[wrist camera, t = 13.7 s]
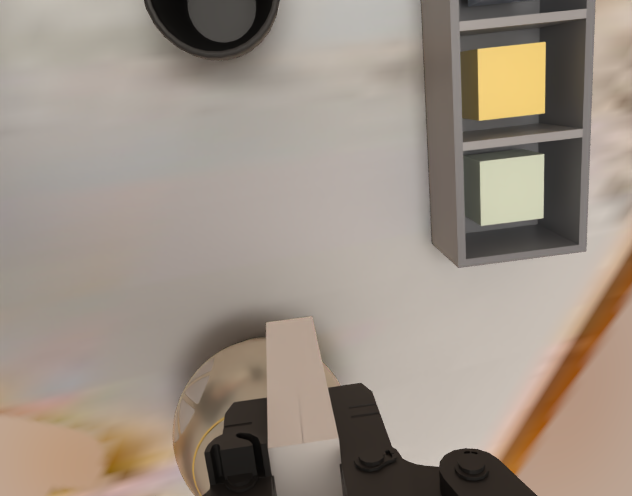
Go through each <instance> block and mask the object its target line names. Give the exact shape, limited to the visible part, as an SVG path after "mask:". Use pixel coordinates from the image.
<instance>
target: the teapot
mask: <svg viewBox="0 0 632 496" xmlns="http://www.w3.org/2000/svg"><path fill="white" fill-rule="evenodd" d="M322 363H323V362H322ZM323 368H324V373H325V377H326V382H327V386H328V388H329V387H336V386H341V385H340V384H339V382H338V380H337V379H336V377H335V376H334V374H333V373H332V372H331V370H330V369H329V368H328V367H327V366H326V365H325V364H324V363H323ZM260 398H267V356H266V337H259V338H253V339H249V340H246V341H243V342H240V343H237V344H234V345H232V346H229V347H227V348H225V349H223V350H221V351H220V352H218V353H216V354H215V355H213V356H212V357H211V358H209V359H208V360H207V361H206V362H205V363H204V364H203V365H202V366H201V367H200V368H199V369H198V370H197V371H196V372H195V373H194V375H193V376H192V377H191V379H190V380H189V382H188V383H187V385H186V387H185V388H184V390H183V392H182V395H181V397H180V399H179V402H178V405H177V408H176V412H175V417H174V424H173V446H174V453H175V457H176V461H177V464H178V467H179V470H180V473H181V475H182V477H183V479H184V481H185V483H186V484H187V486H188V487H189V489H190V490H191V491H192V493H193V494H194V495H195V496H202V495H204V494H205V493H206V492H207V491H208V490H209V489H210V482H209V477H208V472H207V466H206V461H205V455H204V451H205V449H206V447H207V445H208V444H209V443H210V442H211V441H212V440H213V439H214V438H216V437H218V436H220V435H222V434H223V428H224V417H225V413H226V412H227V410H228V409H229V408H230V406H231V405H232V404H233V402H238V401H245V400H252V399H260Z"/></svg>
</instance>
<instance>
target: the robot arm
mask: <svg viewBox="0 0 632 496" xmlns="http://www.w3.org/2000/svg"><path fill="white" fill-rule="evenodd" d="M266 356H267V398H260V399H252V400H245V401H238V402H233V404H232V405H231V406H230V408H229V409H228V410H227V412H226V413H225V417H224V428H223V434H222V435H220V436H218V437H216V438H214V439H213V440H212V441H211V442H210V443H209V444H208V445H207V447H206V449H205V451H204V455H205V461H206V466H207V472H208V477H209V482H210V489H209V490H208V491H207V492H206V493H205V494H204V495H202V496H537V495H536V494H535V493H534V492H533V491H532V490H531V489H530V488H528V487H527V486H526V485H525V484H524V483H523V482H522V481H521V480H520V479H519V478H518V477H517V476H516V475H515V474H514V473H513V472H511V471H510V470H509V469H508V468H507V467H506V466H505V465H504V464H503V463H502V462H501V461H500V460H499V459H497V458H496V457H494V456H493V455H491V454H490V453H488V452H484V451H481V450H478V449H467V448H465V449H459V450H454V451H452V452H450V453H448V454H446V455H445V456H444V457H443V458H442V460H441V461H440V466H439V467H434V466H423V465H417V464H414V463H411V462H408V461H406V460H404V459H402V457H401V455H400V454H399V453H398V451H397V450H396V449H394V448H393V447H392V446H391V443H390V440H389V437H388V434H387V432H386V429H385V426H384V423H383V421H382V418H381V415H380V413H379V409H378V407H377V405H376V401H375V398H374V396H373V393H372V391H371V390H369V389H368V388H367V387H366V386H364V385H363V384H362V383H357V384H350V385H343V386H336V387H329V388H328V386H327V382H326V377H325V373H324V368H323V363H322V359H321V354H320V350H319V345H318V340H317V336H316V331H315V327H314V322H313V317H312V316H310V317H302V318H295V319H287V320H280V321H272V322H266Z"/></svg>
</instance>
